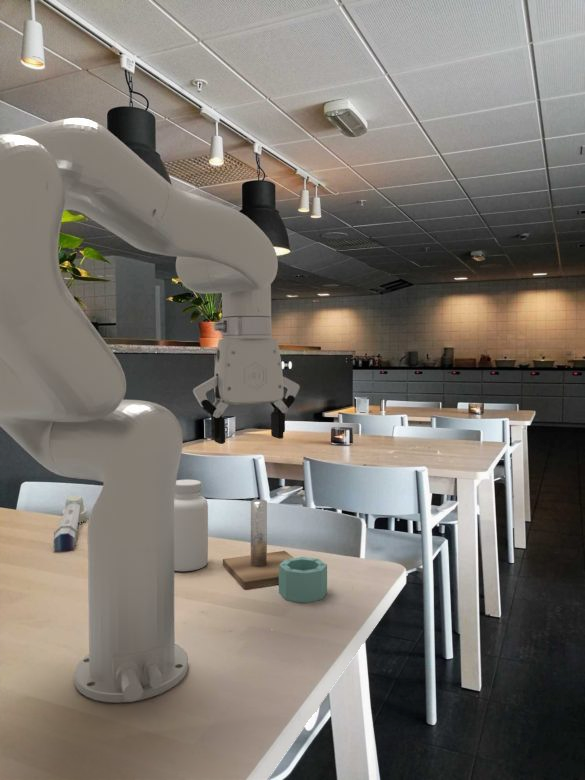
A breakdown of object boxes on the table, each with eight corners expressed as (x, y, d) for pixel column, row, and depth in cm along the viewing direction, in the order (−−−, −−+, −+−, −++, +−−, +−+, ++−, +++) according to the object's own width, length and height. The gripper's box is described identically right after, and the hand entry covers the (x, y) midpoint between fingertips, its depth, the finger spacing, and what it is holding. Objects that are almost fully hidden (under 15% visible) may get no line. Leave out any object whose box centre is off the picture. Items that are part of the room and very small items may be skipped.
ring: (333, 597, 89) (333, 568, 89) (291, 605, 86) (291, 575, 86) (313, 582, 96) (313, 555, 95) (274, 588, 93) (274, 560, 93)
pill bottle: (216, 561, 106) (216, 479, 105) (191, 575, 98) (190, 488, 98) (180, 555, 109) (180, 476, 108) (153, 568, 102) (152, 484, 101)
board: (312, 578, 97) (312, 571, 97) (244, 589, 92) (244, 582, 92) (284, 557, 108) (284, 550, 108) (222, 565, 103) (222, 559, 103)
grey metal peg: (269, 565, 100) (269, 502, 100) (253, 567, 99) (253, 503, 98) (263, 560, 103) (263, 499, 102) (248, 562, 101) (248, 500, 101)
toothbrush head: (48, 534, 110) (63, 489, 134) (50, 566, 111) (64, 516, 135) (78, 531, 111) (87, 488, 135) (79, 564, 112) (88, 515, 136)
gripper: (200, 328, 82) (202, 448, 83) (308, 329, 89) (309, 438, 91) (185, 330, 89) (188, 441, 90) (287, 330, 96) (288, 432, 97)
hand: (249, 440), depth 90 cm, fingers open, 9 cm apart
